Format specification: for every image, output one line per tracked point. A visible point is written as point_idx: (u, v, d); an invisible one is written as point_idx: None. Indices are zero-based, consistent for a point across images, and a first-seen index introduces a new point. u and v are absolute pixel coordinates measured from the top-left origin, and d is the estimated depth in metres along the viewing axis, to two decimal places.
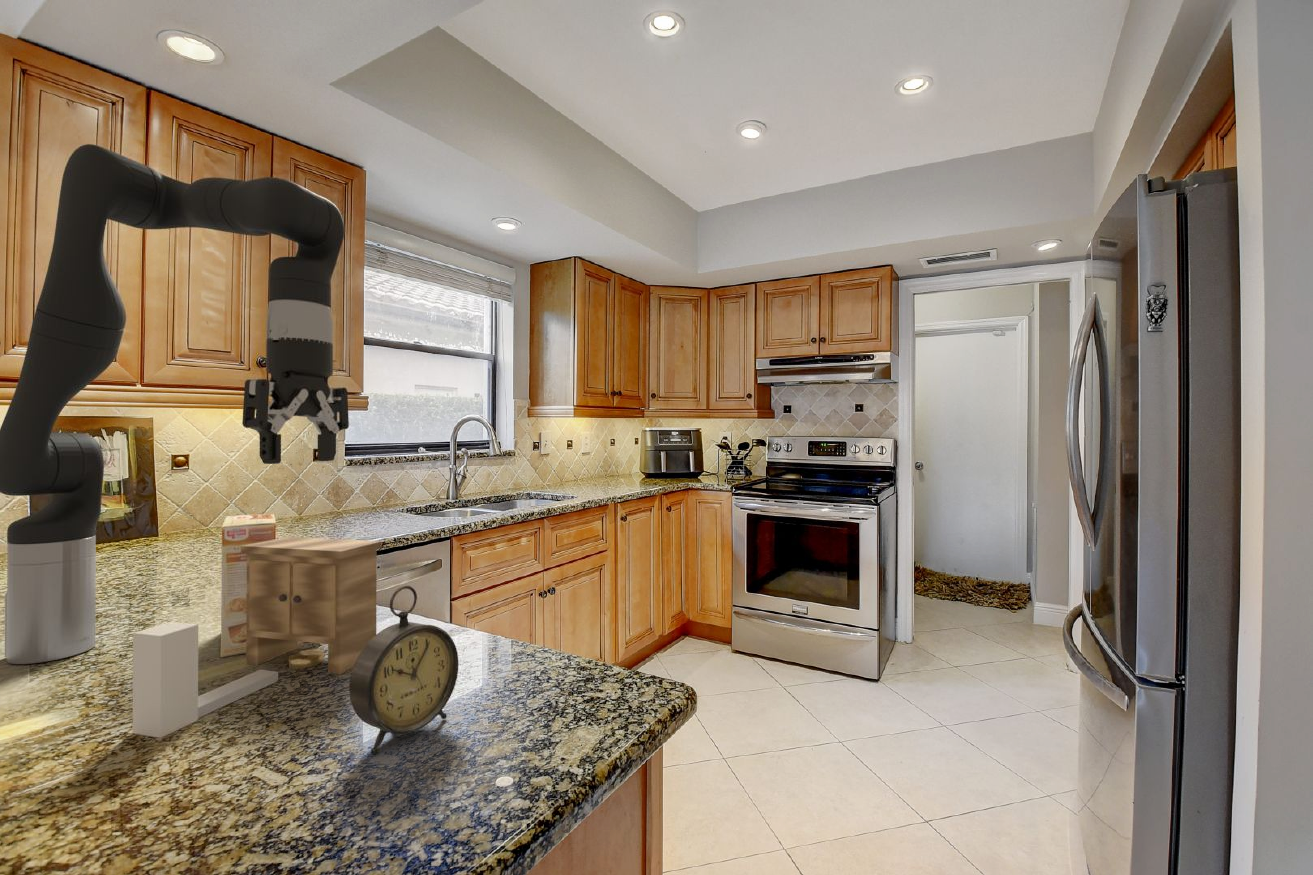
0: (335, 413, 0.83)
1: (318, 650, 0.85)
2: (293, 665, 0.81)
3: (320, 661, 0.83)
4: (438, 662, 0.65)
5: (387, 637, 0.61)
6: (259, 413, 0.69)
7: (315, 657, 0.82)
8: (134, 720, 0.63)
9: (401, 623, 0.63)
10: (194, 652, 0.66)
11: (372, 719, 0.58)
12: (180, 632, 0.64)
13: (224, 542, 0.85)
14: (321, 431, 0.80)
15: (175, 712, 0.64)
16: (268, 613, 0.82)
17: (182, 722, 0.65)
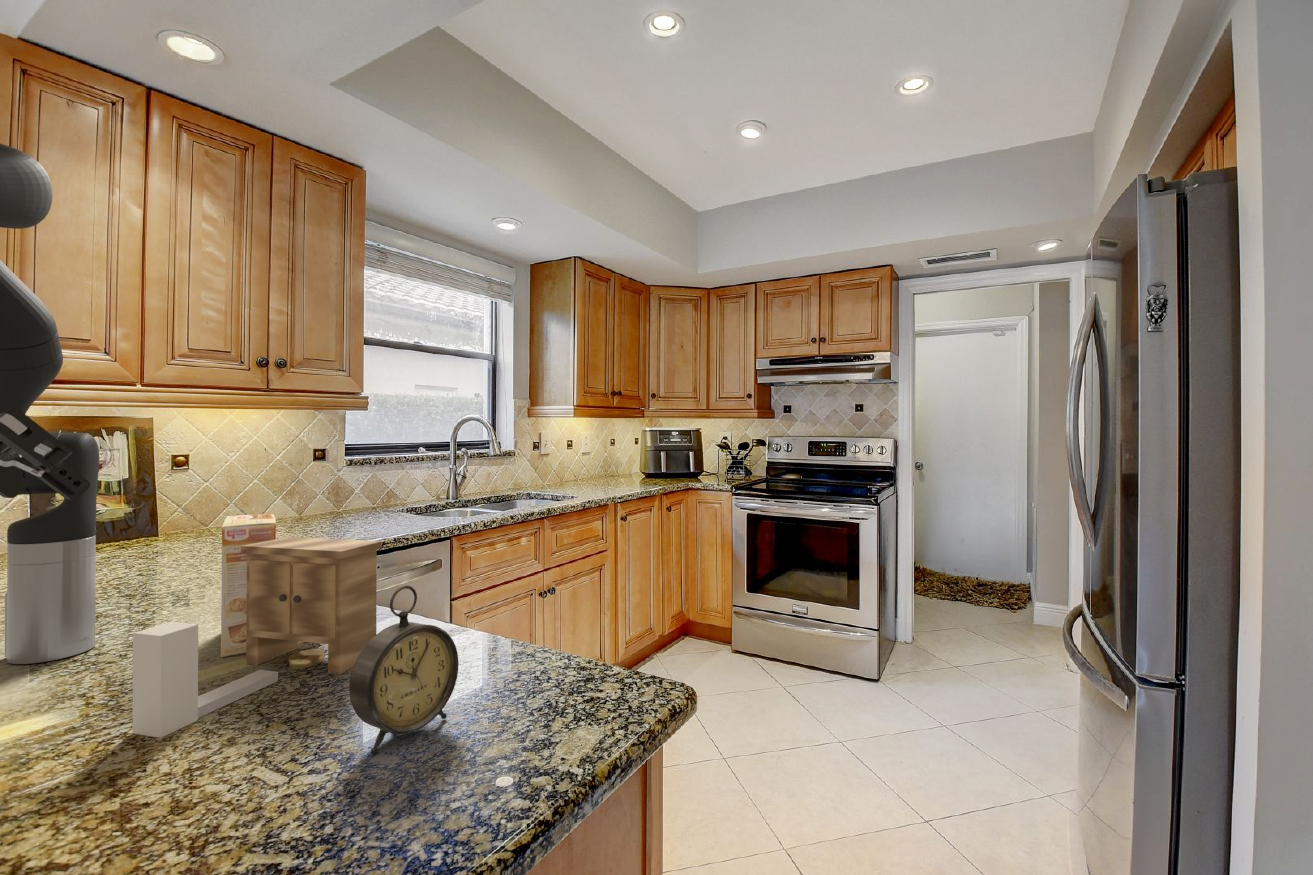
0: (46, 440, 0.54)
1: (318, 650, 0.85)
2: (293, 665, 0.81)
3: (320, 661, 0.83)
4: (438, 662, 0.65)
5: (387, 637, 0.61)
6: None
7: (315, 657, 0.82)
8: (134, 720, 0.63)
9: (401, 623, 0.63)
10: (194, 652, 0.66)
11: (372, 719, 0.58)
12: (180, 632, 0.64)
13: (224, 542, 0.85)
14: None
15: (175, 712, 0.64)
16: (268, 613, 0.82)
17: (182, 722, 0.65)
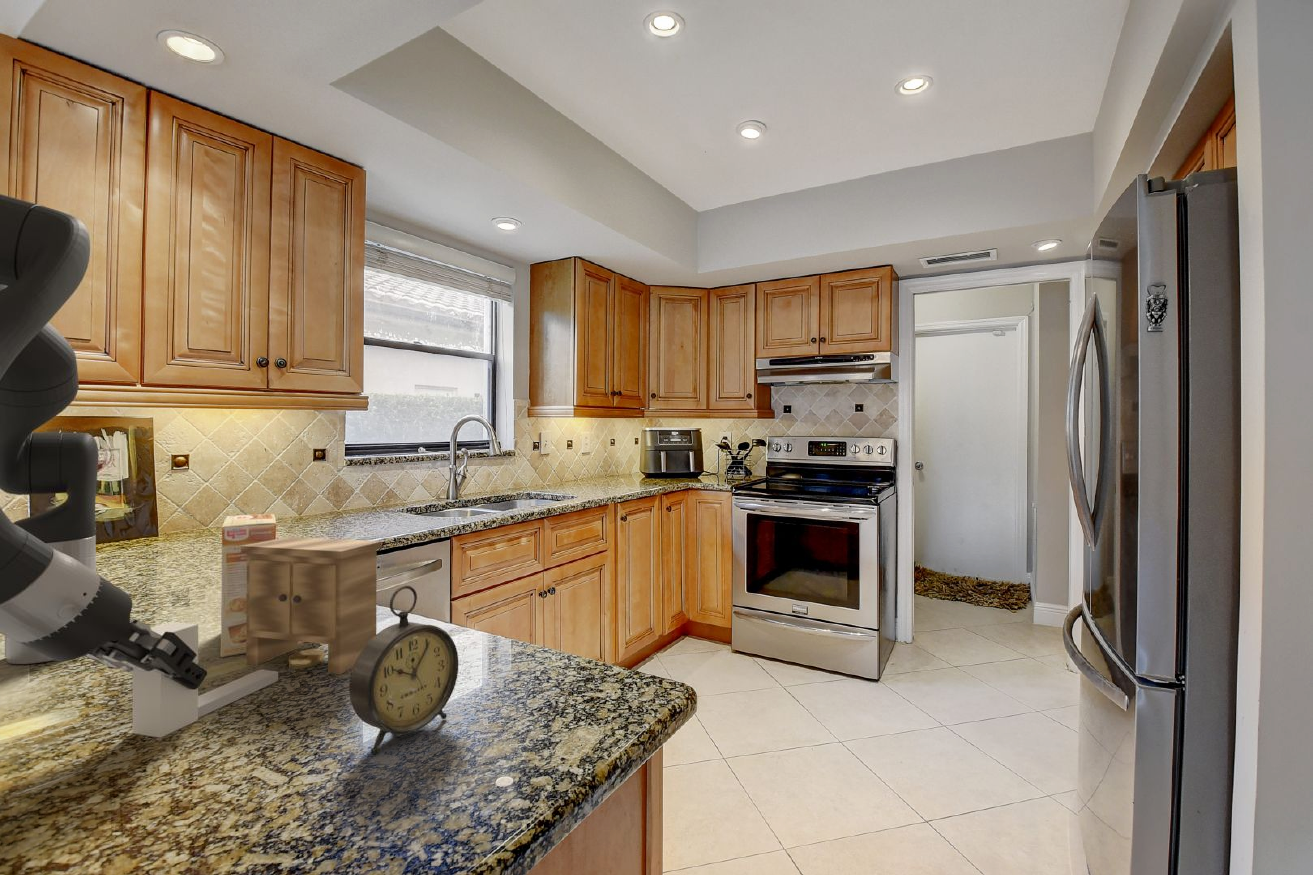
0: None
1: (318, 650, 0.85)
2: (293, 665, 0.81)
3: (320, 661, 0.83)
4: (438, 662, 0.65)
5: (387, 637, 0.61)
6: (99, 662, 0.63)
7: (315, 657, 0.82)
8: (134, 720, 0.63)
9: (401, 623, 0.63)
10: None
11: (372, 719, 0.58)
12: (180, 632, 0.64)
13: (224, 542, 0.85)
14: None
15: (175, 712, 0.64)
16: (268, 613, 0.82)
17: (182, 721, 0.65)
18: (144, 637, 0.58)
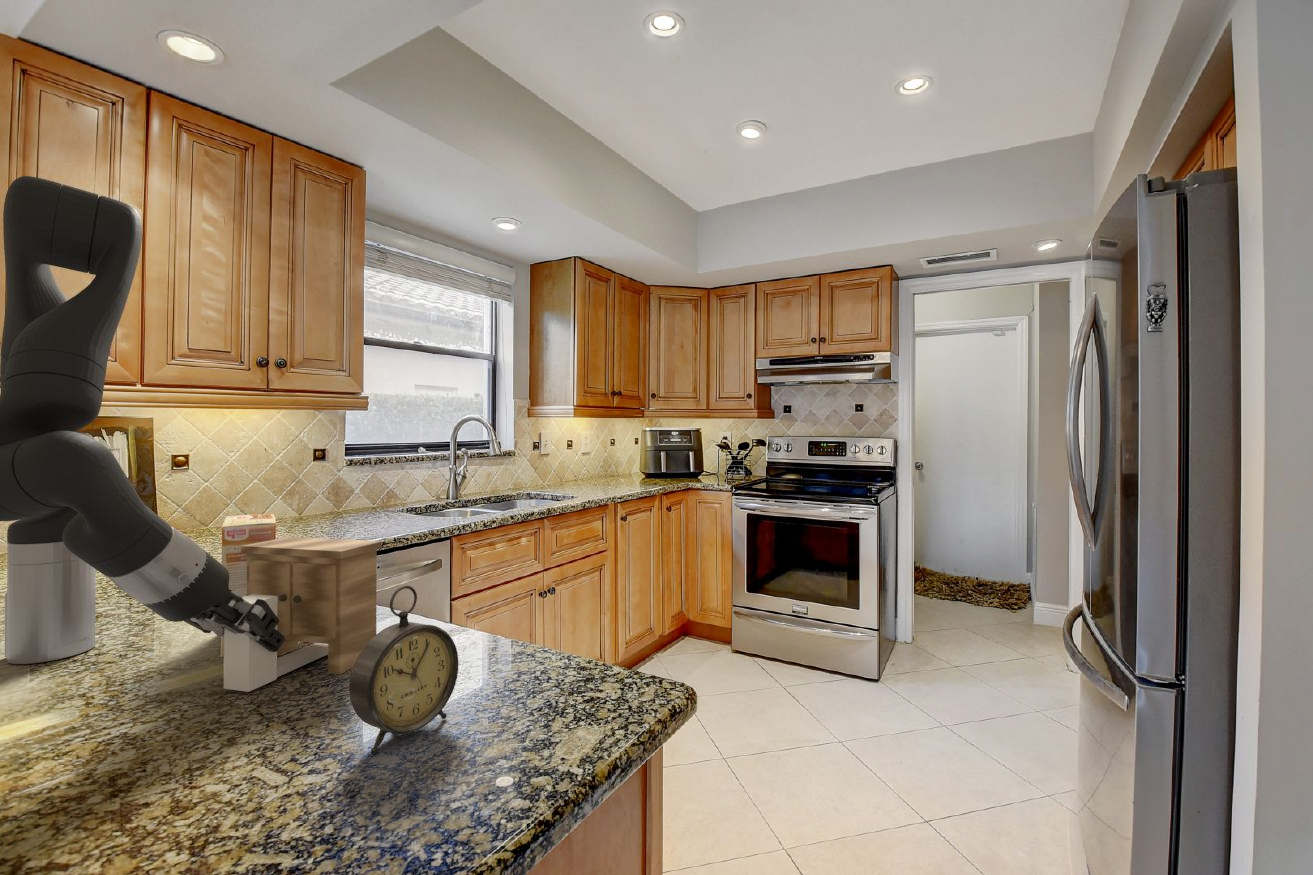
0: (269, 617, 0.72)
1: None
2: None
3: None
4: (438, 662, 0.65)
5: (387, 637, 0.61)
6: None
7: None
8: (225, 677, 0.73)
9: (401, 623, 0.63)
10: None
11: (372, 719, 0.58)
12: None
13: (224, 542, 0.85)
14: None
15: (259, 671, 0.74)
16: None
17: (265, 679, 0.75)
18: (240, 603, 0.69)
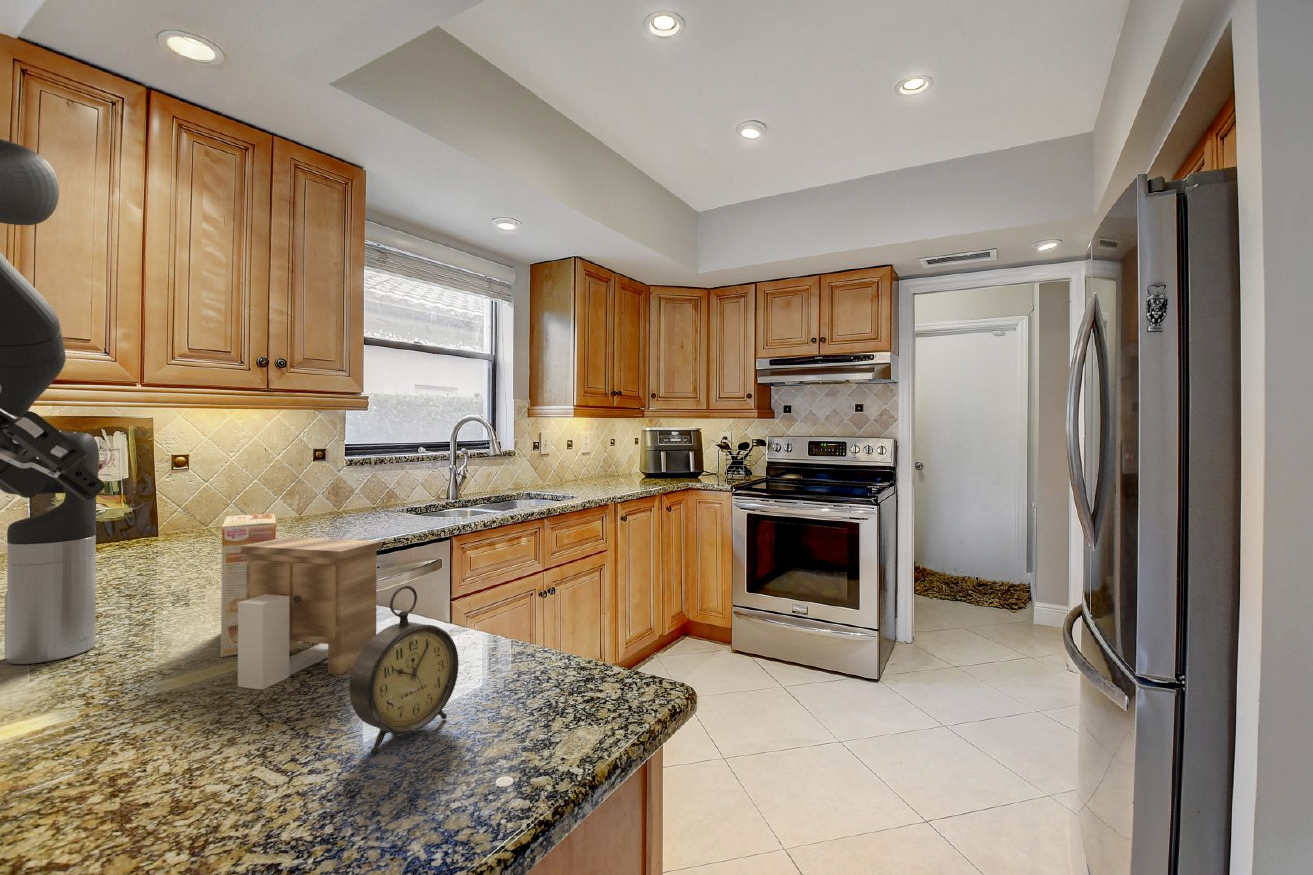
0: (62, 442, 0.55)
1: None
2: None
3: None
4: (438, 662, 0.65)
5: (387, 637, 0.61)
6: None
7: None
8: (239, 675, 0.75)
9: (401, 623, 0.63)
10: (286, 619, 0.78)
11: (372, 719, 0.58)
12: (277, 602, 0.76)
13: (224, 542, 0.85)
14: None
15: (273, 669, 0.76)
16: None
17: (278, 677, 0.76)
18: (6, 420, 0.53)
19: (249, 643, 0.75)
